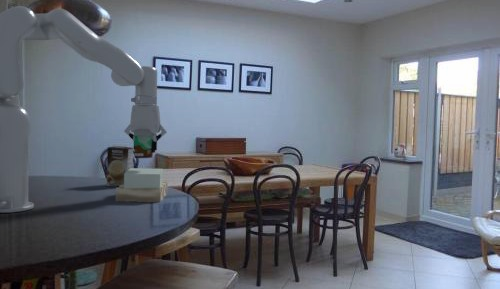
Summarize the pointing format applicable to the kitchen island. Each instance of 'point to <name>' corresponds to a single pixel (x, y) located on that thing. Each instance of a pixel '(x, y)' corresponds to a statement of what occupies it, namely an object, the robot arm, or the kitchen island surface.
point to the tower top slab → (143, 178)
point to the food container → (143, 143)
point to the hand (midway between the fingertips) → (145, 151)
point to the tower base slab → (141, 194)
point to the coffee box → (118, 164)
